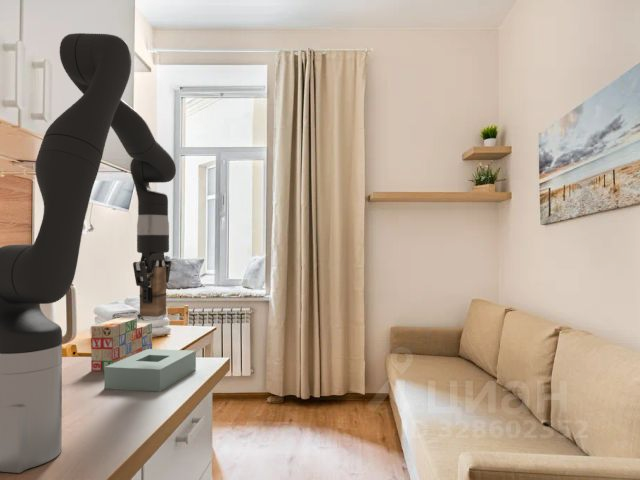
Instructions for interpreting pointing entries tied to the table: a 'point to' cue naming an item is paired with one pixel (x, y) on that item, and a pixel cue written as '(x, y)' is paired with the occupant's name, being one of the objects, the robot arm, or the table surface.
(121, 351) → the stack of blocks
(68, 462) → the table surface
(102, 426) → the table surface
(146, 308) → the walnut peg
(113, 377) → the socket board
